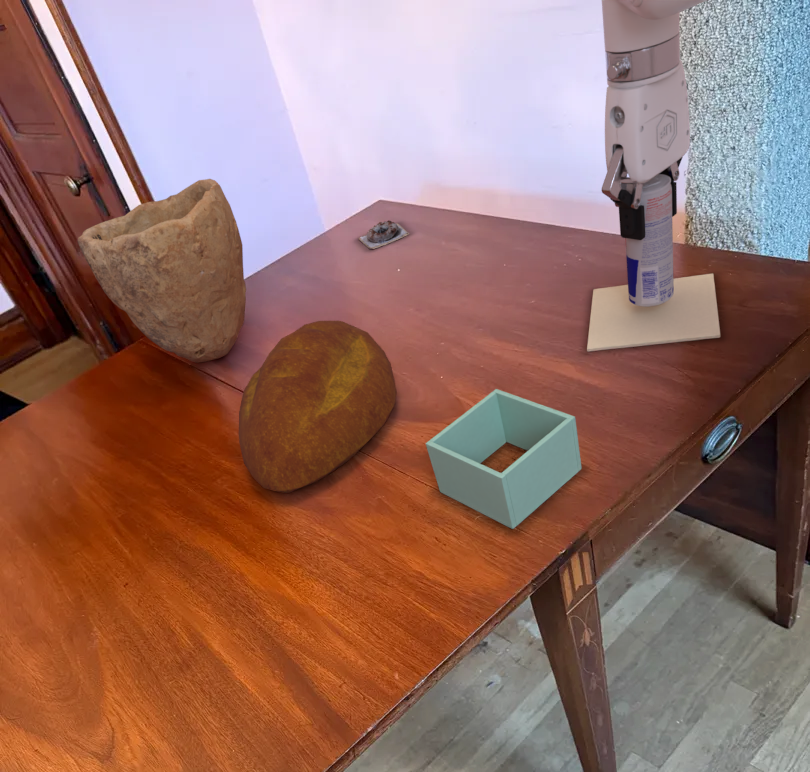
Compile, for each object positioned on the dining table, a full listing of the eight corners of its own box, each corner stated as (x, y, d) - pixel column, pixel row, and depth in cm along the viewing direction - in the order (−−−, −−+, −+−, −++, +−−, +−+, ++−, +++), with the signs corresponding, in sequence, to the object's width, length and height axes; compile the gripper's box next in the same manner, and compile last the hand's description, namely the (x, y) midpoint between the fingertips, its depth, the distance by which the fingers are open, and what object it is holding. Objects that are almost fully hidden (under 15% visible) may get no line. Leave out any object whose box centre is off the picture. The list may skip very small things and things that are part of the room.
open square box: (506, 438, 88) (496, 388, 84) (582, 468, 81) (575, 416, 76) (439, 492, 84) (425, 443, 80) (512, 529, 77) (501, 478, 72)
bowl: (259, 306, 135) (199, 163, 118) (299, 350, 119) (236, 190, 102) (144, 359, 131) (65, 219, 115) (169, 412, 115) (81, 257, 98)
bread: (208, 505, 94) (161, 426, 86) (301, 361, 116) (271, 287, 108) (358, 504, 87) (323, 417, 78) (428, 350, 108) (406, 269, 100)
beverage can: (679, 288, 98) (678, 171, 88) (665, 310, 95) (662, 191, 85) (637, 287, 101) (631, 173, 91) (622, 308, 98) (615, 193, 88)
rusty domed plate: (369, 251, 140) (366, 240, 139) (358, 239, 146) (355, 228, 145) (410, 234, 141) (407, 224, 139) (397, 223, 147) (395, 213, 145)
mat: (713, 275, 102) (713, 273, 102) (720, 337, 92) (720, 334, 91) (593, 291, 108) (593, 289, 108) (587, 351, 97) (586, 349, 97)
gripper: (622, 90, 74) (631, 263, 86) (720, 29, 80) (716, 198, 92) (563, 91, 79) (579, 254, 91) (660, 33, 85) (663, 193, 97)
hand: (648, 224), depth 92 cm, fingers closed on beverage can, 5 cm apart
